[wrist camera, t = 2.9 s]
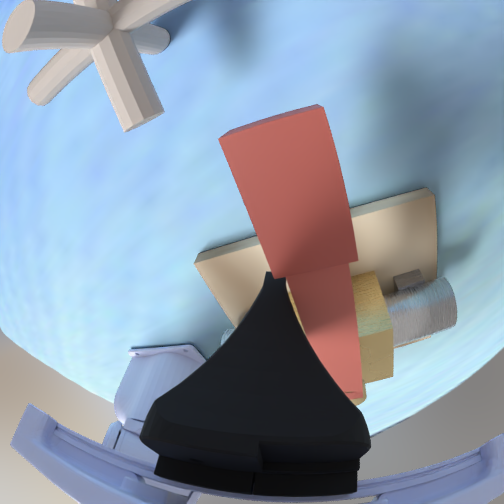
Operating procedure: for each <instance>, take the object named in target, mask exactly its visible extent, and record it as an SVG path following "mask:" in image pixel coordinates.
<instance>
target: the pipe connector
mask: <svg viewBox="0 0 504 504" xmlns="http://www.w3.org/2000/svg"><path fill="white" fill-rule="evenodd" d="M189 1H191V0H119V1H117V0H73V2H74V4H70V3H63V2H55V1H46V0H25V1H23V2H21V3H20V4H19V5H18V6H17V7H16V8H15V9H14V11H13V12H12V13H11V15H10V17H9V19H8V21H7V23H6V25H5V28H4V32H3V38H2V45H3V49H4V51H5V52H6V53H15V52H22V51H32V50H45V49H60V50H59V51H58V52H57V53H56V54H55V55H54V56H53V57H52V58H51V60H50V61H49V62H48V63H47V64H46V65H45V66H44V67H43V68H42V69H41V70H40V72H39V73H38V74H37V75H36V76H35V77H34V79H33V80H32V81H31V82H30V84H29V86H28V88H27V93H28V97H29V98H30V100H31V102H33V103H35V104H36V105H43V106H45V105H46V104H48V103H49V102H50V101H51V100H52V99H53V98H54V97H55V96H56V95H57V94H58V93H59V92H60V91H61V90H62V89H63V88H64V87H65V86H66V85H68V84H69V83H70V82H71V81H72V80H73V79H74V78H75V77H76V76H77V75H78V74H80V73H81V72H82V71H83V70H84V69H85V68H87V67H88V66H89V65H90V64H91V63H93V62H95V65H96V67H97V70H98V72H99V75H100V77H101V80H102V82H103V85H104V87H105V89H106V92H107V94H108V96H109V99H110V101H111V103H112V106H113V108H114V110H115V113H116V115H117V117H118V119H119V122H120V124H121V126H122V128H123V130H124V132H128V131H130V130H132V129H135V128H137V127H139V126H141V125H143V124H145V123H147V122H149V121H151V120H153V119H154V118H156V117H158V116H160V115H161V114H163V113H164V112H165V111H164V109H163V107H162V105H161V102H160V100H159V98H158V96H157V93H156V91H155V89H154V86H153V84H152V82H151V80H150V77H149V75H148V73H147V70H146V68H145V66H144V64H143V61H142V59H141V57H140V54H139V53H143V54H151V55H155V54H159V53H161V52H162V51H164V50H165V49H166V48H167V46H168V44H169V41H170V35H169V33H168V31H167V30H165V29H164V28H161V27H158V26H155V25H153V24H150V22H151V21H153V20H155V19H157V18H158V17H160V16H162V15H164V14H166V13H167V12H169V11H171V10H173V9H175V8H177V7H179V6H181V5H183V4H185V3H187V2H189Z"/></svg>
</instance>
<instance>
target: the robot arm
mask: <svg viewBox="0 0 504 504" xmlns="http://www.w3.org/2000/svg"><path fill="white" fill-rule="evenodd" d="M128 354H129V355H130V356H131V357H132V359H131V361H130V363H129V366H128V368H127V370H126V372H125V374H124V377H123V379H122V381H121V383H120V386H119V388H118V390H117V393H116V395H115V399H114V409H115V413H116V416H117V417H118V419H119V421H117V422H114V423H111V424H110V426H109V429H108V431H107V433H106V435H105V438H104V441H103V443H102V444H100V443H97V442H95V441H93V440H91V439H89V438H86V437H84V436H82V435H80V434H78V433H76V432H74V431H72V430H70V429H68V428H66V427H65V426H63V425H61V424H59V423H57V421H56V420H54V419H53V418H52V417H50V416H49V415H48V414H46V413H45V412H43V411H42V410H40V409H38V408H37V407H35V406H34V405H32V404H31V403H29V404H28V405H27V407H26V410H25V412H24V414H23V416H22V418H21V420H20V423H19V425H18V427H17V429H16V431H15V434H14V436H13V438H12V441H11V444H10V445H11V447H12V448H13V449H15V450H16V451H17V452H18V453H19V454H20V455H21V456H23V457H24V458H25V459H26V460H27V461H28V462H29V463H31V464H32V465H33V466H34V467H35V468H36V469H37V470H38V471H39V472H41V473H42V474H43V475H44V476H45V477H46V478H47V479H49V480H50V481H51V482H52V483H53V484H54V485H56V486H57V487H58V488H59V489H61V490H62V491H63V492H64V493H66V494H67V495H68V496H70V497H71V498H72V499H74V500H75V501H77V502H78V503H79V504H196V502H197V500H198V498H199V497H200V496H201V495H202V493H204V494H209V495H215V496H221V497H228V498H235V499H243V500H252V501H265V502H290V503H291V502H293V503H298V502H299V503H300V502H327V501H339V500H348V499H356V498H363V497H369V496H376V495H377V496H376V497H374V499H373V500H372V501H371V502H367V503H361V504H487V503H489V502H490V501H492V500H493V499H495V498H497V497H498V496H499V495H501V494H503V493H504V433H502V434H500V435H498V436H497V437H495V438H493V439H491V440H489V441H488V442H486V443H485V444H483V445H482V446H481V447H479V448H477V449H475V450H472V451H470V452H468V453H465V454H462V455H460V456H457V457H454V458H452V459H449V460H446V461H443V462H440V463H437V464H433V465H430V466H427V467H423V468H420V469H416V470H412V471H408V472H404V473H400V474H395V475H390V476H385V477H379V478H373V479H367V480H361V481H357V471H358V470H359V468H360V462H359V461H360V458H361V457H362V456H363V455H364V454H365V453H367V452H368V451H369V449H370V448H371V440H370V435H369V431H368V427H367V424H366V422H365V419H364V416H363V414H362V412H361V411H360V410H359V409H358V408H357V407H356V406H355V405H354V404H353V403H352V401H351V400H350V399H349V398H348V397H347V396H346V395H345V393H344V392H343V391H342V390H341V388H340V387H339V386H338V385H337V383H336V382H335V381H334V380H333V378H332V377H331V375H330V374H329V372H328V371H327V370H326V368H325V367H324V365H323V364H322V363H321V361H320V360H319V358H318V356H317V355H316V353H315V351H314V350H313V348H312V346H311V345H310V343H309V341H308V339H307V337H306V335H305V333H304V331H303V329H302V327H301V325H300V323H299V321H298V319H297V316H296V314H295V311H294V309H293V306H292V303H291V301H290V298H289V294H288V291H287V287H286V277H283V278H278V279H274V277H273V274H272V272H271V271H266V274H265V278H264V282H263V286H262V288H261V290H260V292H259V294H258V296H257V297H256V299H255V301H254V302H253V304H252V306H251V307H250V309H249V311H248V312H247V314H246V315H245V316H244V318H243V319H242V321H241V322H240V324H239V325H238V326H237V328H236V329H235V330H234V331H233V333H232V334H231V335H230V336H229V338H228V339H227V340H226V341H225V342H224V343H223V344H222V346H221V347H220V348H219V349H218V350H217V351H216V352H215V353H214V354H213V355H212V356H211V357H210V358H209V359H208V360H207V361H206V360H205V359H204V357H203V356H202V355H201V354H200V353H199V352H198V351H197V349H196V348H195V347H194V346H192V345H179V346H169V347H158V348H145V349H130V350H129V351H128ZM122 424H123V425H124V426H122Z"/></svg>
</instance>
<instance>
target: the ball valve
mask: <svg viewBox="0 0 504 504" xmlns="http://www.w3.org/2000/svg"><path fill="white" fill-rule="evenodd" d="M393 280H394V292H392V293H389V294H385V295H383V294H382V291H381V288H380V286H379V283H378V280H377V277H376V274H375V271H374V270H373V271H370V272H366V273H363V274H359V275H355V276H352V277H351V281H352V288H353V294H354V301H355V309H356V317H357V325H358V335H359V345H360V356H361V369H362V379H364V381H365V383H370V382H374V381H378V380H382V379H386V378H390V377H393V347H394V346H398V345H401V344H405V343H408V342H411V341H414V340H418V339H421V338H424V337H427V336H430V335H433V334H436V333H438V332H441V331H444V330H447V329H449V328H452V327H454V326H455V324H456V320H457V306H456V300H455V296H454V293H453V290H452V287H451V285H450V283H449V282H448V280H447V279H446V278H445V277H440V278H437V279H434V280H431V281H428V282H425V279H424V277H423V275H422V273H421V272H420V270H419V269H416V270H413V271H410V272H406V273H403V274H400V275H396V276H393ZM288 294H289V298H290V301H291V303H292V306H293V309H294V311H295V314H296V316H297V319H298V321H299V323H300V325H301V327H302V329H303V331H304V328H303V326H302V323H301V320H300V317H299V314H298V311H297V308H296V305H295V303H294V300H293V297H292V294H291V292H288ZM246 314H247V312H245V315H246ZM245 315H244V316H245ZM235 329H236V328H233V329H228V330H226V331H225V332H224V333H223V335H222V338H221V346H222V344H223V343H224V342H225V341H226V340H227V339H228V338H229V336H230V335H231V334H232V333H233V331H234V330H235ZM304 333H305V331H304ZM305 335H306V334H305Z"/></svg>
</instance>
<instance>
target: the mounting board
mask: <svg viewBox="0 0 504 504" xmlns="http://www.w3.org/2000/svg"><path fill="white" fill-rule="evenodd" d="M350 213H351V218H352V224H353V229H354V235H355V241H356V247H357V253H358V260H359V261H356V262H351V263H349V269H350V275H351V277H352V276H355V275H359V274H363V273H366V272H370V271H373V270H374V271H375V274H376V277H377V280H378V283H379V286H380V288H381V291H382V294H383V295H385V294H389V293H392V292H394V280H393V276H396V275H400V274H403V273H406V272H410V271H413V270H416V269H419V270H420V272H421V273H422V275H423V277H424V279H425V282H428V281H431V280H434V279H436V278H437V220H436V204H435V195H434V194H433V193H432V192H431V191H430V190H429V189H428V188H427V187H426V188H422V189H419V190H415V191H411V192H408V193H404V194H400V195H397V196H393V197H390V198H386V199H382V200H379V201H375V202H372V203H368V204H365V205H361V206H357V207H354V208H350ZM194 265H195V267H196V268H197V270H198V271H199V273H200V275H201V276H202V278H203V279H204V281H205V283H206V284H207V286H208V287H209V289H210V290H211V292H212V293H213V295H214V297H215V298H216V300H217V301H218V303H219V304H220V306H221V307H222V309H223V310H224V312H225V313H226V315H227V316H228V318H229V319H230V321H231V322H232V324H233V325H234V327H235V328H237V326H238V325H239V324H240V322H241V321H242V319H243V318H244V315H245V312H248V311H249V309H250V307H251V306H252V304H253V302H254V301H255V299H256V297H257V296H258V294H259V292H260V290H261V288H262V286H263V282H264V278H265V274H266V271H271V269H270V267H269V264H268V262H267V259H266V257H265V254H264V252H263V249H262V247H261V244H260V242H259V239H258V236H254V237H251V238H248V239H245V240H241V241H238V242H235V243H231V244H228V245H225V246H221V247H218V248H215V249H212V250H208V251H205V252H202V253H199V254H198V256H197V258H196V260H195V262H194ZM286 287H287V291H288V292H291V291H290V288H289V286H288V283H287V280H286ZM430 337H431V335H430V336H427V337H424V338H421V339H418V340H414V341H411V342H408V343H405V344H401V345H398V346H394V347H393V349H394V348H398V347H401V346H405V345H408V344H411V343H414V342H418V341H421V340H424V339H427V338H430Z"/></svg>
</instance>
